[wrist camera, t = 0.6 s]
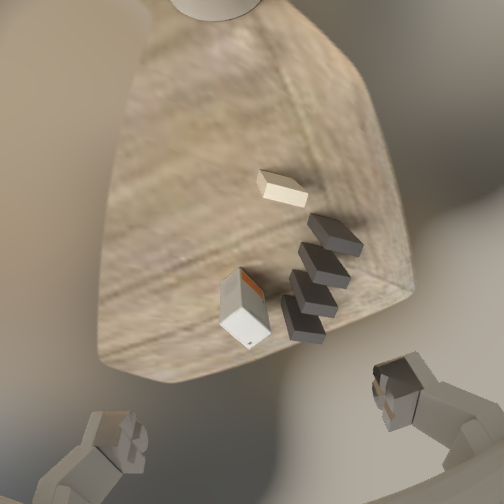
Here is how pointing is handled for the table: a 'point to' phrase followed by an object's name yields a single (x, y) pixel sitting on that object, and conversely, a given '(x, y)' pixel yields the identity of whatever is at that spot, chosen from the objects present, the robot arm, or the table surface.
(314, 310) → the domino
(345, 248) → the domino
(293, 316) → the domino
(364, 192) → the table surface
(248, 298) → the skincare box
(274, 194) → the domino
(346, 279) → the domino
